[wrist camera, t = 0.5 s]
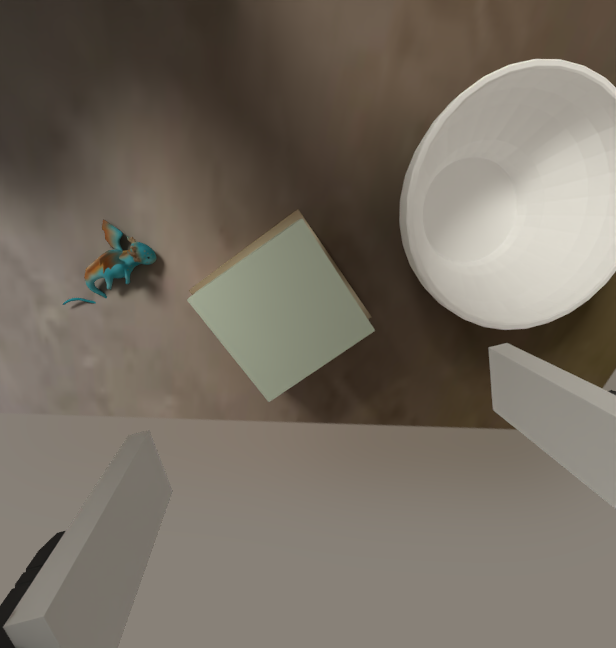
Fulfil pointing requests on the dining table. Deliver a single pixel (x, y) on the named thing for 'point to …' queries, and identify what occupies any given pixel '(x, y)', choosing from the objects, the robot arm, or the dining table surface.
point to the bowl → (516, 196)
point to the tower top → (282, 311)
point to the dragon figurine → (116, 261)
